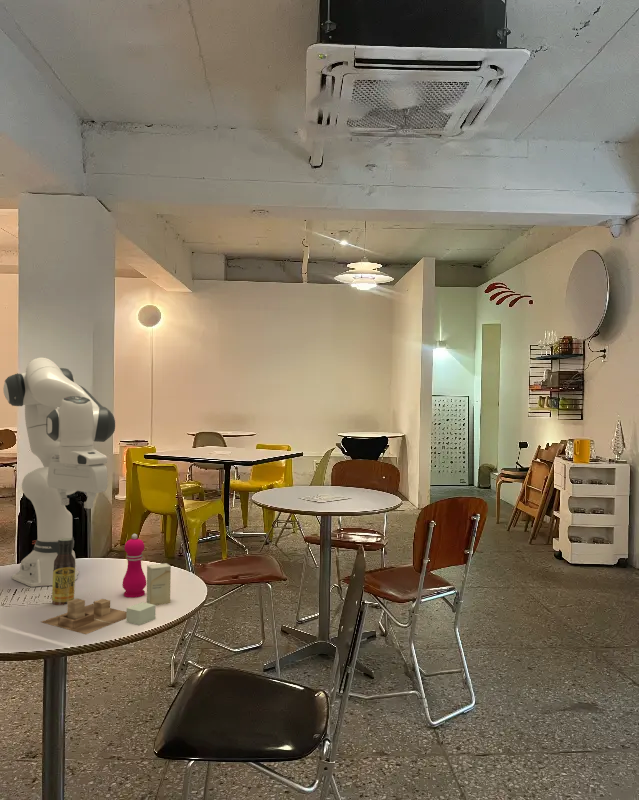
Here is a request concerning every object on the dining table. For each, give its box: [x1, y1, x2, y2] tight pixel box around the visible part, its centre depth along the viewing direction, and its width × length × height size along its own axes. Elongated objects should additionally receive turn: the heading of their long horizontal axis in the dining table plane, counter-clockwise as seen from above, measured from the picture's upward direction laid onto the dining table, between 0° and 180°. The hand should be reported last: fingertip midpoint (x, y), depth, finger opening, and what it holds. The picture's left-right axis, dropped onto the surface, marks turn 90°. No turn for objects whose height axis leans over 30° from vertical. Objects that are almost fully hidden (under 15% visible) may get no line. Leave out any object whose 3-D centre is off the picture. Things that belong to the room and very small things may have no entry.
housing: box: [125, 601, 157, 626], centre depth 183 cm, size 5×6×5 cm
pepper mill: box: [121, 533, 147, 599], centre depth 206 cm, size 7×7×20 cm
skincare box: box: [146, 562, 172, 606], centre depth 199 cm, size 6×4×12 cm
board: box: [41, 598, 126, 635], centre depth 185 cm, size 18×18×4 cm
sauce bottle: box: [51, 538, 76, 606], centre depth 199 cm, size 6×6×20 cm
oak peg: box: [66, 598, 86, 620], centre depth 181 cm, size 3×3×6 cm
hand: (76, 506), depth 180 cm, fingers open, 8 cm apart
